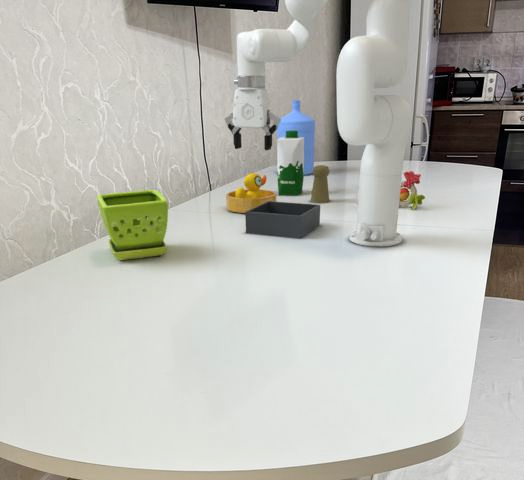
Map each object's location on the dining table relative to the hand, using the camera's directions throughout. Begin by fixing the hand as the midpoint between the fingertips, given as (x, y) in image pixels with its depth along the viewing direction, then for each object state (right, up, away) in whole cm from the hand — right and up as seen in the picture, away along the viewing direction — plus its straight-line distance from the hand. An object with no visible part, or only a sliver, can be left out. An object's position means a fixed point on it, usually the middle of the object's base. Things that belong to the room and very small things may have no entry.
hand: (252, 149), depth 154 cm
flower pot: (-26, -37, -32) cm, 55 cm away
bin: (+8, -27, -15) cm, 32 cm away
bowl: (-1, -15, +8) cm, 17 cm away
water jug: (+17, +16, +70) cm, 73 cm away
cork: (+21, -11, +17) cm, 29 cm away
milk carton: (+13, -4, +29) cm, 32 cm away
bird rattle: (+47, -16, +5) cm, 49 cm away
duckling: (-1, -15, +8) cm, 17 cm away
